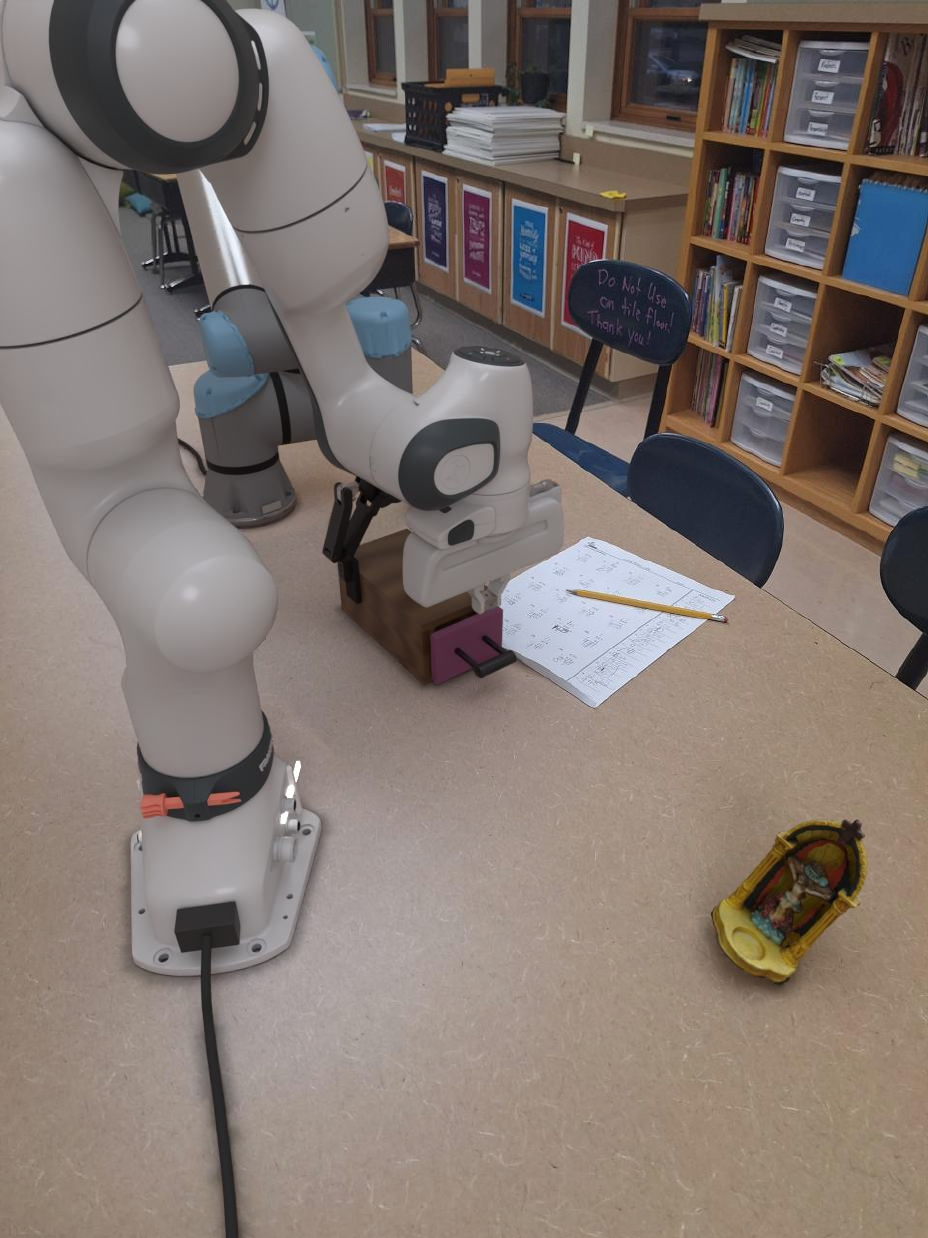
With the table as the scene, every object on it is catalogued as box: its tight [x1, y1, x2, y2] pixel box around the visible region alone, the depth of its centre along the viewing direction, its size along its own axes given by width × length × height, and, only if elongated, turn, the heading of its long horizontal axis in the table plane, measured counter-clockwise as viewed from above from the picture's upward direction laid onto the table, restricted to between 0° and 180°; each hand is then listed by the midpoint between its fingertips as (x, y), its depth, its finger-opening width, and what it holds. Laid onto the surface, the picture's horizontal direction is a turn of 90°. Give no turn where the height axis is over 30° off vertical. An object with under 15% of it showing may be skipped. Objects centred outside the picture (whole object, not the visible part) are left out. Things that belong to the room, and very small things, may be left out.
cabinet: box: [336, 528, 488, 686], centre depth 113 cm, size 20×11×9 cm, turn 36°
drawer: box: [429, 606, 518, 686], centre depth 110 cm, size 25×10×7 cm, turn 36°
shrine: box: [710, 818, 868, 986], centre depth 72 cm, size 12×8×15 cm
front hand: (486, 608), depth 99 cm, fingers closed
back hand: (392, 584), depth 117 cm, fingers closed on cabinet, 11 cm apart
